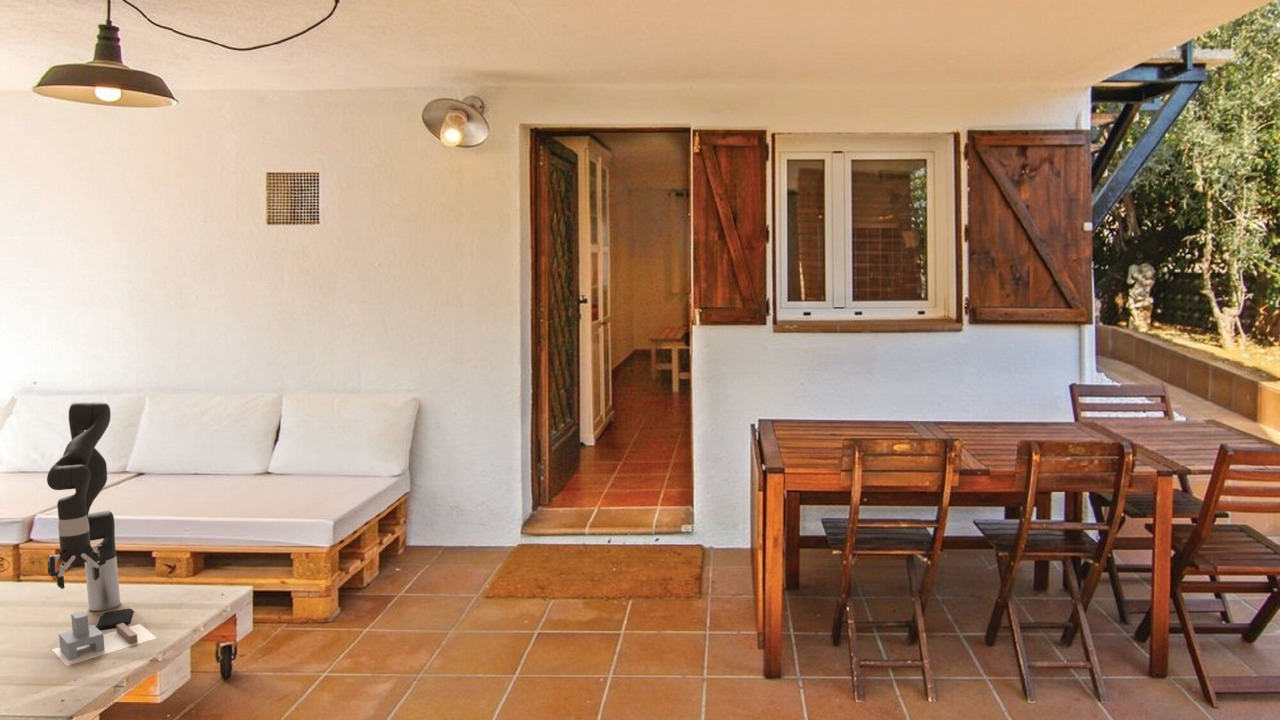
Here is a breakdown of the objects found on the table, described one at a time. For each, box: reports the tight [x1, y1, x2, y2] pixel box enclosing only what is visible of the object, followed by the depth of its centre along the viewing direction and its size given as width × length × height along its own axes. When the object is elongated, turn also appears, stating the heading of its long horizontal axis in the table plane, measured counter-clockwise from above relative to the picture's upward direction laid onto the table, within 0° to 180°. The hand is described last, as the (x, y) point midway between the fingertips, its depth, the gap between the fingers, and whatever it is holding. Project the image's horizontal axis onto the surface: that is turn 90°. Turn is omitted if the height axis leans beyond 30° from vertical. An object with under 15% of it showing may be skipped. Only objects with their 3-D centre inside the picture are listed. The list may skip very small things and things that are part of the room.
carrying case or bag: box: [96, 608, 135, 631], centre depth 275 cm, size 11×3×15 cm
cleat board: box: [51, 623, 157, 666], centre depth 257 cm, size 16×24×4 cm, turn 138°
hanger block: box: [58, 610, 105, 660], centre depth 252 cm, size 10×9×11 cm
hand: (78, 583), depth 251 cm, fingers open, 8 cm apart
